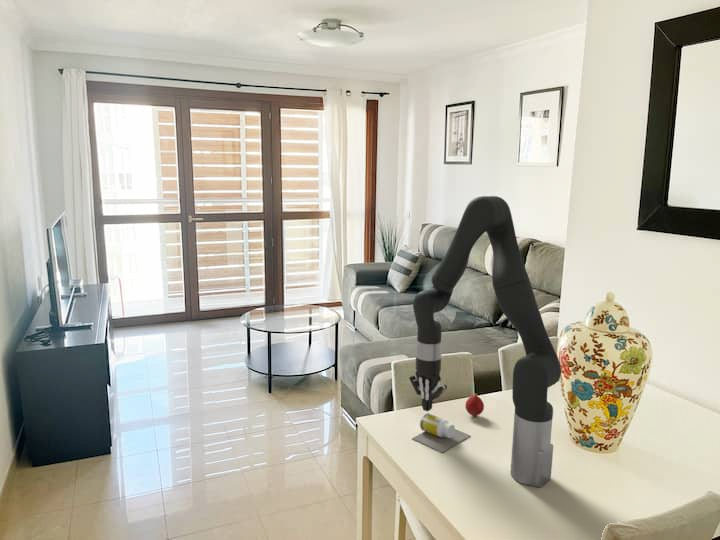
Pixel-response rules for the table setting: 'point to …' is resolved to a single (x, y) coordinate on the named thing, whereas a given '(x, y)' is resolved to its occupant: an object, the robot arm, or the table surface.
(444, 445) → the mat
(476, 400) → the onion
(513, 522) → the table surface
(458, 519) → the table surface
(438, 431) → the supplement bottle
